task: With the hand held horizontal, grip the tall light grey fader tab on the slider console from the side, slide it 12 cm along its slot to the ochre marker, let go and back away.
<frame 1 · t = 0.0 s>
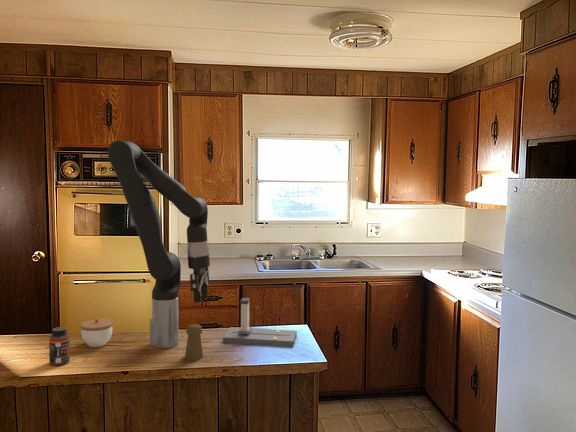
hand: (201, 299, 171), 17 cm above the countertop, tool pointing down, fingers open, 8 cm apart
supplement bottle: (59, 363, 155), on the countertop
fader: (245, 315, 180), point 9 cm above the countertop, slide at -6.0 cm
slider console: (260, 339, 180), on the countertop
lidded jar: (97, 344, 172), on the countertop
pepper mill: (194, 357, 162), on the countertop
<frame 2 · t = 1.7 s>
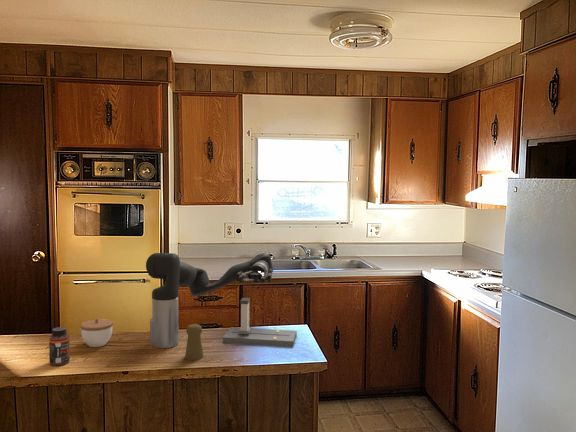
hand: (251, 280, 191), 20 cm above the countertop, tool horizontal, fingers open, 8 cm apart
nothing on the countertop moved.
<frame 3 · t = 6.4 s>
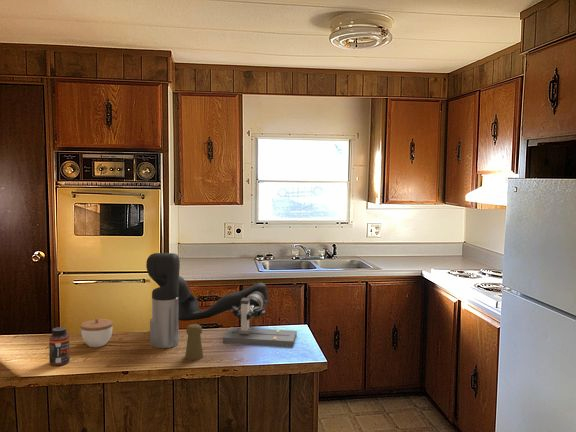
hand: (243, 317, 177), 9 cm above the countertop, tool horizontal, fingers closed on fader, 2 cm apart
fader: (245, 315, 180), point 9 cm above the countertop, slide at -6.0 cm, touching gripper
everything else where it was.
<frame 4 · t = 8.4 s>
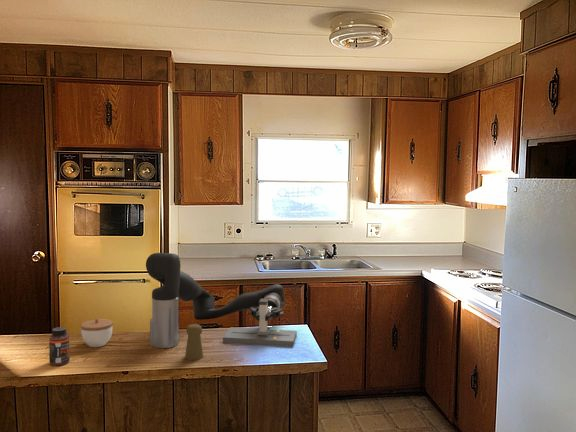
hand: (262, 318, 177), 9 cm above the countertop, tool horizontal, fingers closed on fader, 2 cm apart
fader: (263, 316, 180), point 9 cm above the countertop, slide at 1.0 cm, touching gripper
everything else where it was.
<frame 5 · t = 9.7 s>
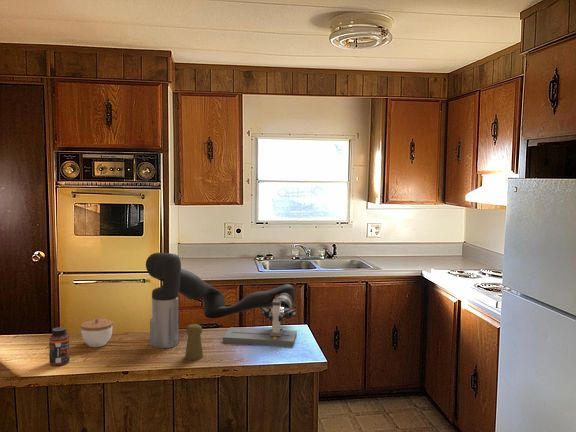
hand: (275, 318, 176), 9 cm above the countertop, tool horizontal, fingers closed on fader, 2 cm apart
fader: (276, 317, 179), point 9 cm above the countertop, slide at 5.9 cm, touching gripper
everything else where it was.
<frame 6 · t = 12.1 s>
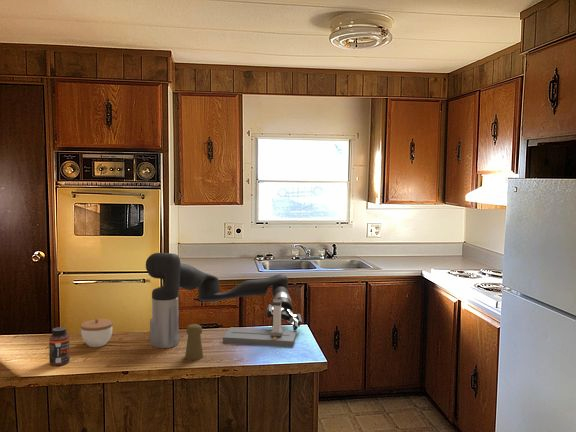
hand: (285, 325, 183), 4 cm above the countertop, tool horizontal, fingers open, 8 cm apart
fader: (277, 317, 179), point 9 cm above the countertop, slide at 6.2 cm
everything else where it was.
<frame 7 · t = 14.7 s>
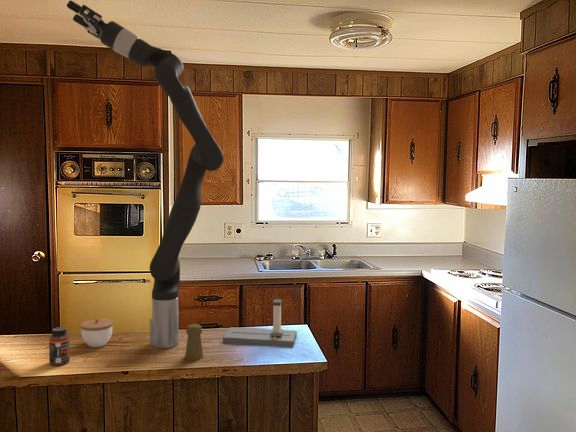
hand: (71, 10, 144), 110 cm above the countertop, tool pointing upward, fingers open, 8 cm apart
nothing on the countertop moved.
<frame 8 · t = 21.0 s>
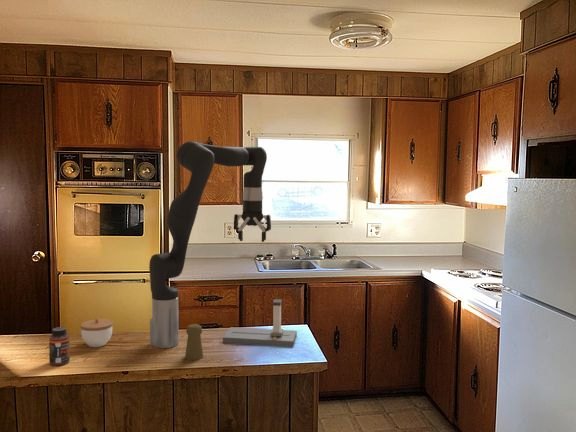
hand: (252, 241, 185), 36 cm above the countertop, tool pointing down, fingers open, 8 cm apart
nothing on the countertop moved.
at the end: fader slide at 6.2 cm; the gripper is holding nothing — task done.
